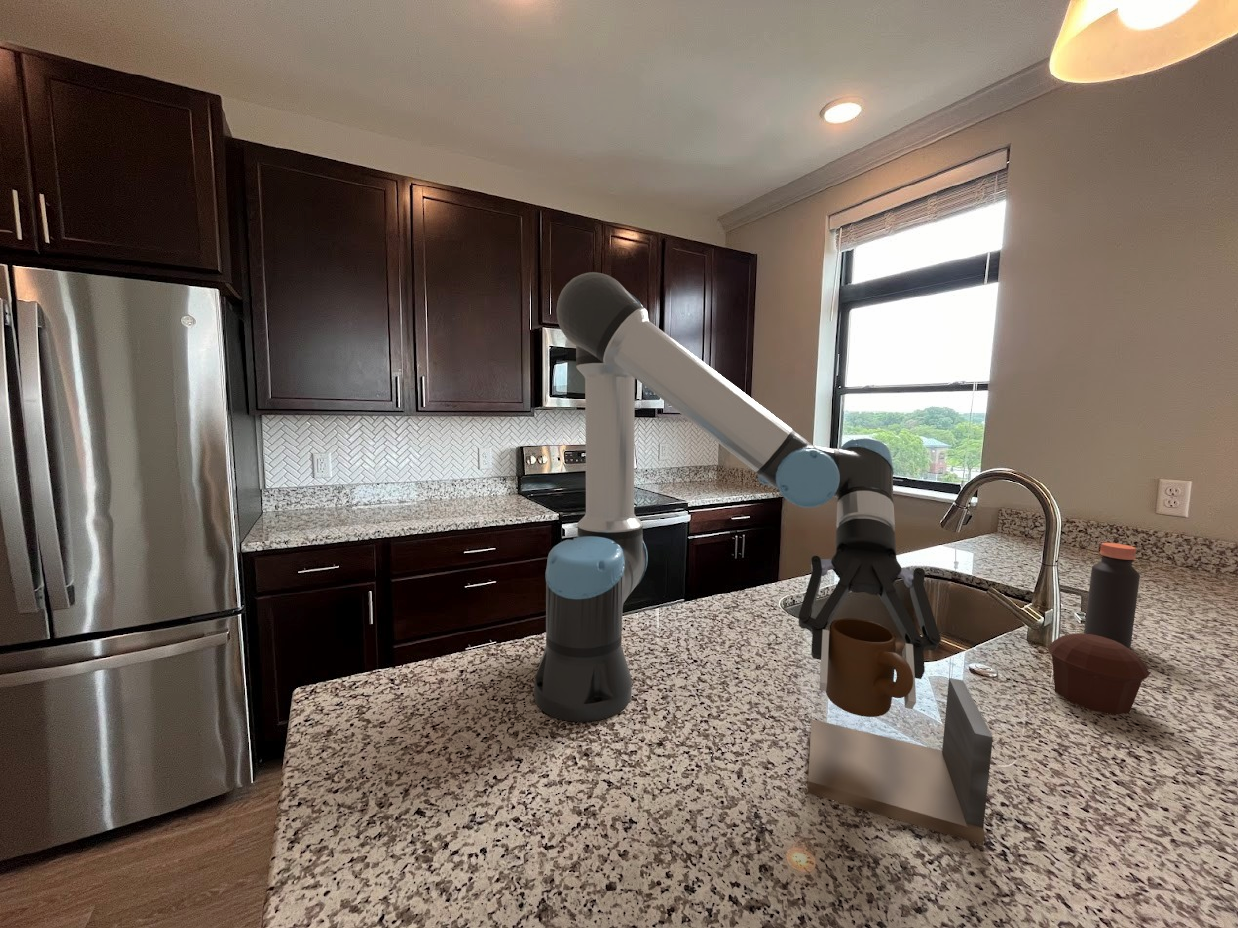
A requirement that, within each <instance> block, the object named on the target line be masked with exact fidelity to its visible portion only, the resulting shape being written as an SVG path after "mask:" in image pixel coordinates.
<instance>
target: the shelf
mask: <svg viewBox="0 0 1238 928" xmlns="http://www.w3.org/2000/svg"><path fill="white" fill-rule="evenodd" d="M947 684H948V685H947V695H946V706H945V719H944V726H943V738H942V748H941V749H938V748H934V747H929V746H925V745H921V744H916V743H914V742H907V741H904V740H900V739H895V738H891V737H888V736H883V735H880V734H875V733H870V732H868V731H867V732H866V731H862V730H858V729H855V728H850V727H846V726H841V725H838V724H834V723H831V722H830V723H829V722H825V721H821V720H816V719H814V718H812V719H810V720H811V721H810V722H811V723H810V737H809V757H808V758H809V759H808V771H807V772H808V775H807V776H808V778H807V794H809V795H812V796H815V797H819V798H823V799H825V798H826V800H829V799H830V800H829V801H832V800H834V801H833V802H836V803H840V804H843V805H846V806H849V805H850V807H853V808H857V809H859V810H860V809H861V810H863V811H867V812H870V813H873V814H877V815H880V816H883V817H888V818H891V819H894V820H897V821H900V822H904V823H907V824H909V825H912V826H913V825H914V826H917V827H921V828H924V829H927V830H931V831H934V832H937V833H941V834H945V835H949V836H951V837H954V838H957V839H961V840H964V841H968V842H971V843H975V844H978V845H981V846H984V844H985V843H984V841H985V834H986V831H985V829H984V826H985V816H986V808H987V807H986V806H987V797H988V788H989V787H988V786H989V777H990V769H991V768H990V767H991V758H992V748H993V739H994V737H993V734H992V733H991V731H990V729H989V728H988V725H987V723H986V721H985V720H984V718H983V716H982V714H981V712H980V709H979V708H978V706H977V704H976V702H975V700H974V699H973V696H972V694H971V692H970V691H969V689H968V686H967V685H966V682H965V681H964V680H962V679H957V678H952V677H948V683H947Z"/></svg>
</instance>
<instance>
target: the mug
mask: <svg viewBox="0 0 1238 928" xmlns="http://www.w3.org/2000/svg"><path fill="white" fill-rule="evenodd" d="M896 643H897V638H896V634H895V632H893V631H892V630H891V629H890V628H888V627H887V626H884V625H882V624H880V623H877V622H875V621H872V620H866V619H862V618H854V617H842V618H841V617H840V618H836V619H834V620H832V622H830V625H829V648H828V671H827V688H826V691H825V693H826V696H827V698H828V699H829V701H830V702H831V703H832V704H833V705H835V706H836V707H837V708H839V709H841V710H842V711H844V712H847V713H849V714H851V715H855V716H859V717H865V718H877V717H881V716H884V715H886V714H888V712H889V711H890V709H891V707H892V702H893V698H895V699H902V698H903V699H904V697H905V696H907V695H908V694H909V693H910V691H911V689H912V686H913V674H912V670H911V668H910V666H909V664H908V663H907V661H906V660H905V659H904V658H903V657H902V655H900V654H899V653H897V644H896ZM895 673H896V679H895Z"/></svg>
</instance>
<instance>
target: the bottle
mask: <svg viewBox="0 0 1238 928" xmlns="http://www.w3.org/2000/svg"><path fill="white" fill-rule="evenodd" d="M1136 553H1137V548H1136V547H1135V546H1131V545H1127V544H1123V543H1114V542H1101V543H1100V551H1099V556H1100V557H1101V560H1100V561H1099V562H1097V563H1095V564H1093V565H1092V567H1091V571H1090V572H1091V573H1090V580H1089V588H1088V597H1087V603H1086V604H1087V605H1086V611H1085V613H1086V614H1085V622H1084V628H1083V629H1084V630H1083V633H1085V634H1092V635H1097V636H1102V637H1105V638H1108V639H1111V640H1114V641H1116V642H1118V643H1121V644H1122V645H1124V646H1125V647H1127V648H1129V649H1131V647H1132V641H1133V640H1132V639H1133V632H1134V623H1135V616H1136V608H1137V601H1138V593H1139V585H1140V578H1141V576H1140V573H1139V571H1137V570H1136V568H1135V567H1133V566H1132V565H1133V563H1134V562H1135V560H1136V556H1137V555H1136Z"/></svg>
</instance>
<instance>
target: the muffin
mask: <svg viewBox="0 0 1238 928" xmlns="http://www.w3.org/2000/svg"><path fill="white" fill-rule="evenodd" d="M1046 648H1047V650H1048V652H1049V654H1050V655H1051V660H1052V671H1053V673H1052V674H1053V682H1054V683H1053V685H1054V693H1056V694H1058V695H1059V696H1061V698H1064V699H1065V700H1066V702H1069V703H1072V704H1074V705H1077V706H1078V707H1079V706H1080V707H1081V708H1084V709H1086V710H1088V711H1091V712H1097V713H1103V714H1105V715H1112V716H1114V717H1115V716H1120V715H1129V714H1130V712H1131V711H1132V708H1133V706H1134V703H1135V699H1137V695H1138V693H1139V690H1140V687H1141V685H1142V682H1143V681H1144V680H1146V679H1147V678H1148V677H1149V676H1150V675H1151V672H1150V671H1149V669H1148V667H1147V665H1146V663H1145V662H1144V661H1143V660H1142V658H1140V657H1139V656H1138V655H1137V653H1135V652H1134V651H1133V650H1131V648H1127V647H1125V646H1124V645H1122V644H1121V643H1118V642H1116V641H1114V640H1111V639H1108V638H1105V637H1102V636H1097V635H1092V634H1085V633H1084V632H1080V633H1078V632H1076V633H1068V634H1065V635H1064V634H1063V635H1061V636H1060V637H1058V638H1056V639H1054V640H1053V641H1051V643H1050V644H1049V645H1048V646H1047V647H1046Z"/></svg>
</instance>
